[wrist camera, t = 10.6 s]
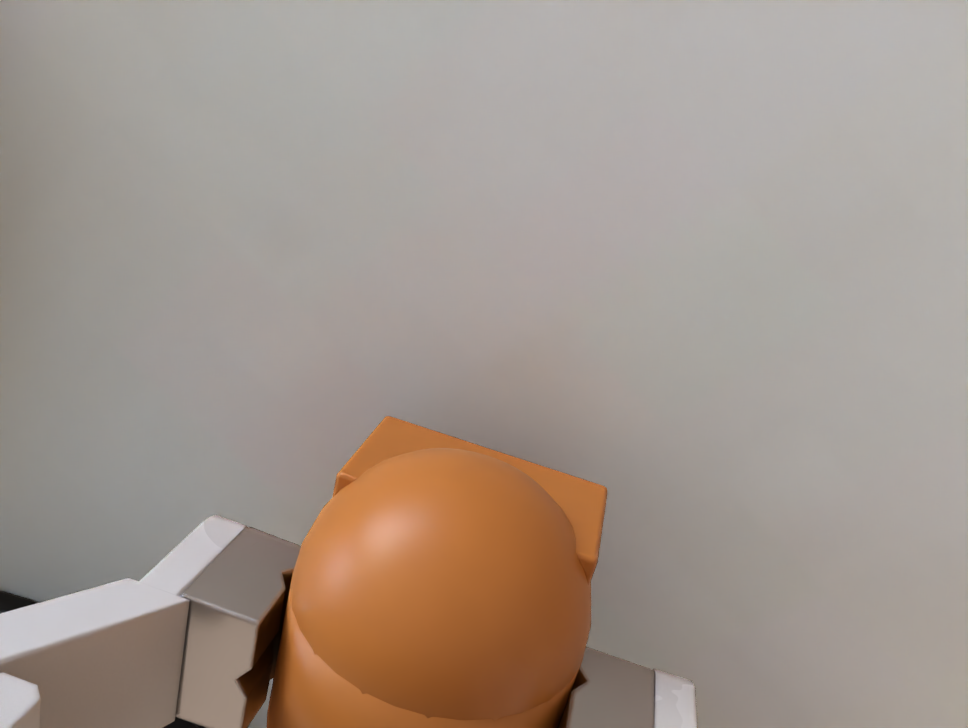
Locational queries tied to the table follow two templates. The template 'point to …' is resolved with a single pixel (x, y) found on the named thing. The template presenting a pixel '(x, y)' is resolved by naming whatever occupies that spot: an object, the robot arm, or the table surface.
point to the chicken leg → (439, 590)
